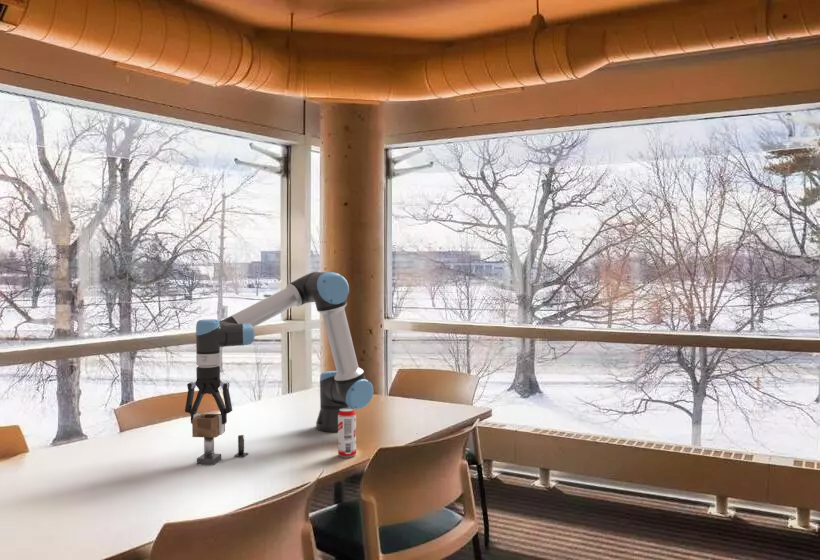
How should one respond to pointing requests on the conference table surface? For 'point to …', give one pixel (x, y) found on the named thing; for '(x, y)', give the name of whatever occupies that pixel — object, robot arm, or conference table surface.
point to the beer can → (347, 432)
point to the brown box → (206, 425)
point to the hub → (209, 453)
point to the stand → (241, 447)
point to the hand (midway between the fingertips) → (208, 433)
